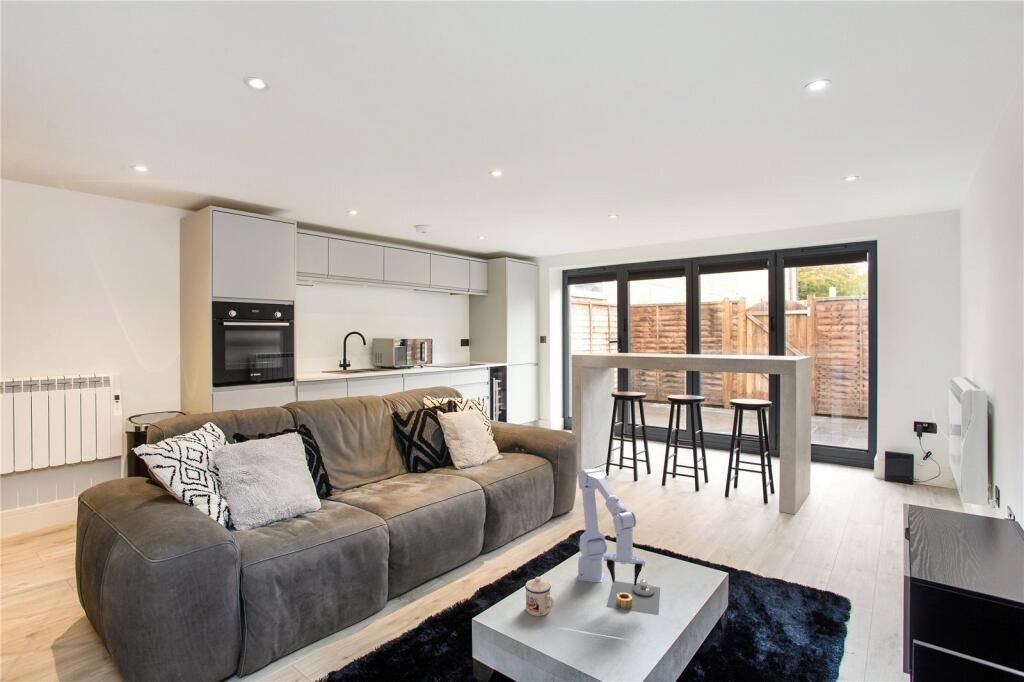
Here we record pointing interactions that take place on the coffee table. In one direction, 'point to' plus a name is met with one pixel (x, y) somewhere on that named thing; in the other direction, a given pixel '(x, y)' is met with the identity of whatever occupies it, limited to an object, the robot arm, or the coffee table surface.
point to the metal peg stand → (643, 589)
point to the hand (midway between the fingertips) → (624, 582)
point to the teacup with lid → (538, 597)
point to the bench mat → (635, 598)
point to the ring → (624, 600)
